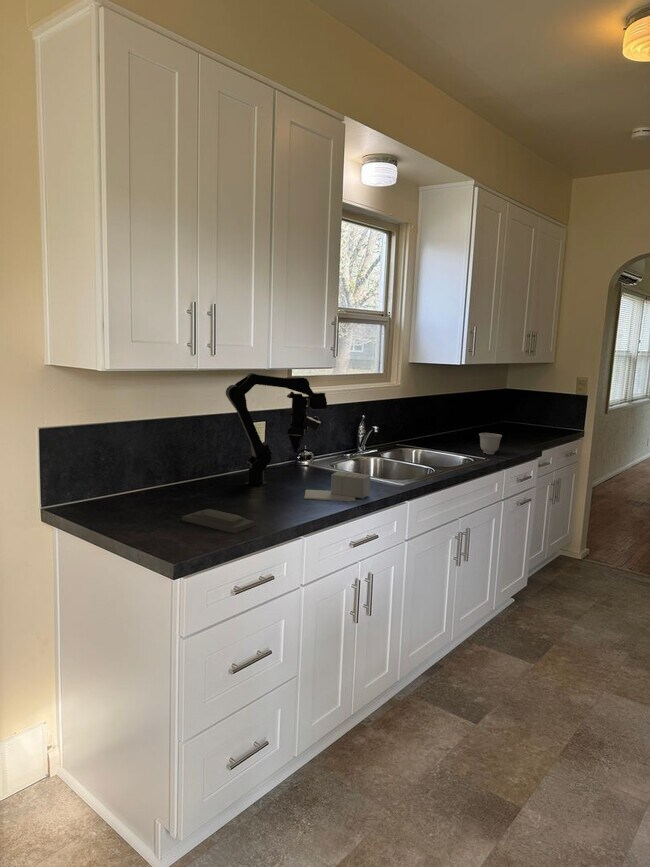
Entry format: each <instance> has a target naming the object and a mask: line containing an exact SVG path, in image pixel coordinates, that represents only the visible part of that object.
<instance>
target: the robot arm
mask: <svg viewBox="0 0 650 867" xmlns="http://www.w3.org/2000/svg"><path fill="white" fill-rule="evenodd" d="M256 385H258V386H265V387H266V386H268V387H275V388H283V389H284V388H285V389H287V390H292V391H290V393H289V394H287V395H286V398H289V399H291V412H290V416H291V417H290V419H291V420H290V425H289V427H288V428H287V433H286V434H287V436H288V438H289V440H290V443H291V446H292V449H293V452H294V453H298V451H299V449H300V448H301V446H302V441H303V438H304V437H305V434H306V433H307V432H308V430H309V428H311V429H313V430H315V431H318V430H319V428H320V426H321V423H322V421H320V420H319V417H318V416H316V415H314V416H313V417H311V416H308V415H309V414H308V412H307V408H309V411H325V410H326V409H327V407H328V402H327V397H326V393H325V392H314V391H313V389H311V387H310V381H309V380H308V379H307V378H306V377H302V376H289V377H281V376H273V375H272V376H271V375H266V374H256V373H253V372H252V373H251V372H250V373H248V374H247V375H246V376H245V377H244V378H242V379H241V380H238V381H237V382H236V383H235V384H230V385H229V386H228V387H227V388H226V390H225V397H226V398H227V399H228V401H229V402H230V403H231V405H232V406H233V408H234V409H235V411H236V413H237V414H238V418H239V420H240V422H241V425H242V427H243V429H244V431H245V434H246V436H247V438H248V440H249V443H250V451H251V454H252V455H251V456H250V457H249V458H248V459H247V461H246V465H247V467H248V481H246V482H245V483H244V485H247V486H253V487H262V486H264V485H266V484H268V482H267V481H264V480H265V471H266V469H267V467H268V465H269V464H270V463H271V461H272V458H273V457H272V454H273V453H272V452H271V450H270V447H269V444H268V443H266V441H262V440H261V437H260V435H259V433H258V430H257V428H256V426H255V423H254V421H253V418H252V415H251V414H250V412H249V409H248V404H247V398H246V394H247V393H249V392H250V391H251V390H252V388H253V387H254V386H256ZM295 392H298V393H295ZM304 395H305V396H304Z"/></svg>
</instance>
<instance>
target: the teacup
mask: <svg viewBox="0 0 650 867" xmlns="http://www.w3.org/2000/svg"><path fill="white" fill-rule="evenodd" d="M478 435H479V443H480V444H479V446H480V448H481V450H482V451H483V452H482V453H483V454H484V453H486V454H485V455H495V452H497V451H498V450H499V447H500V443H501V439H502V437H503V434H499V433H492V432H491V433H490V432H480V433H478Z"/></svg>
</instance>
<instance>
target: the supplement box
mask: <svg viewBox="0 0 650 867" xmlns="http://www.w3.org/2000/svg"><path fill="white" fill-rule="evenodd" d="M370 483H371V475H370V474H364V473H358V472H357V473H356V472H349V471H341V470H338V471H336V472H334V473H332V474H331V478H330V491H331V494H337V495H343V496H350V497H355V498H358V499H365V498H366V497H367V496H368V495H370V487H371V485H370Z"/></svg>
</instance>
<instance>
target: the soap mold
mask: <svg viewBox="0 0 650 867" xmlns="http://www.w3.org/2000/svg"><path fill="white" fill-rule="evenodd" d="M181 520H182V522H188V523H190V524H195V525H199V526H203V527H208V528H211V529H214V530H220V531H224V532H228V533H232V534H237V533H240V532H242V531H245V530H247V528H248V529H250V528H253V527H256V522H255V520H253V519H252V520H251V519H248V518H244V517H242V516H240V515H238V514H233V513H229V512H225V511H222V510H221V511H220V510H216V509H211V508H207V509H202V510H199V511H195V512H192V513H189V514H186V515H182V518H181Z"/></svg>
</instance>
